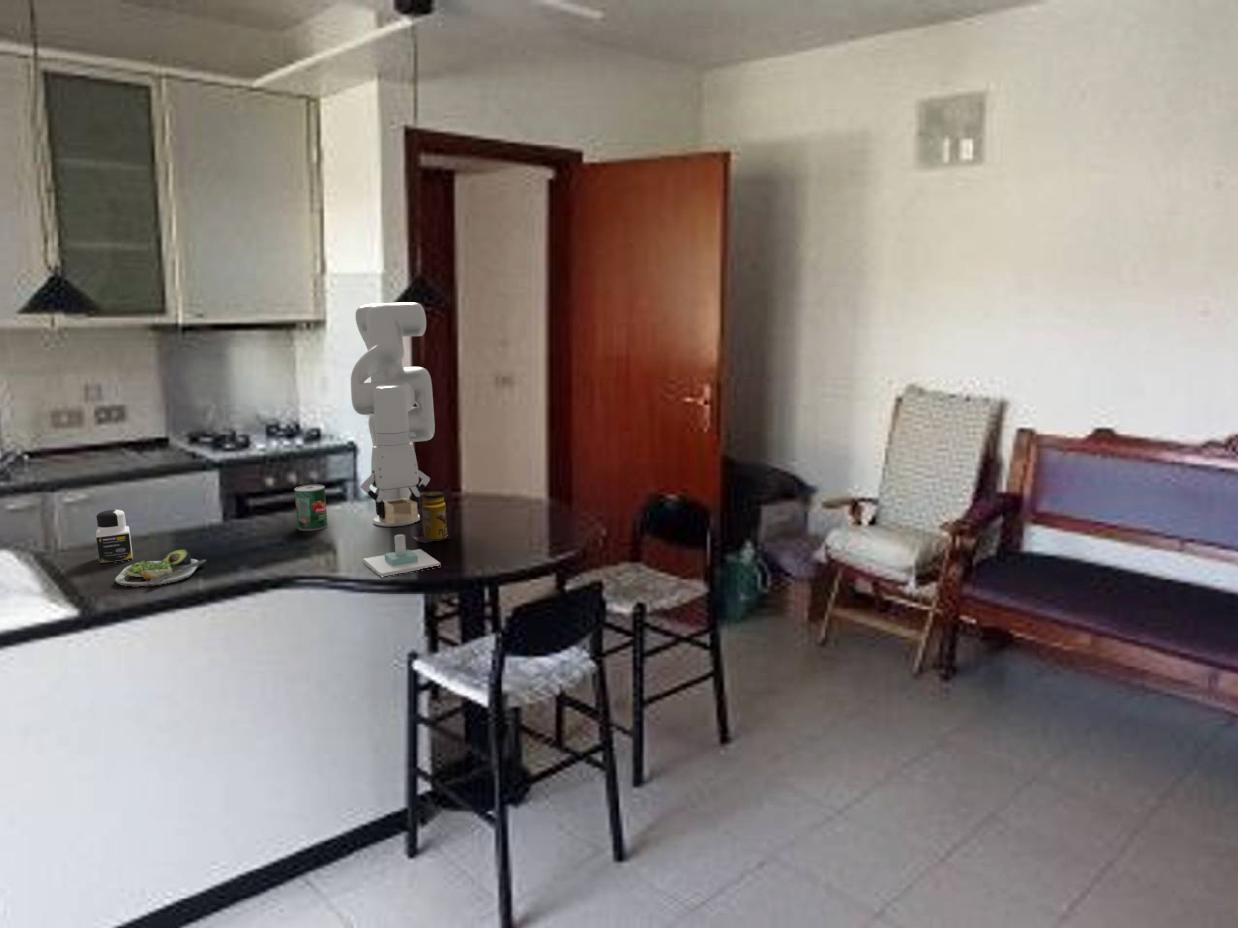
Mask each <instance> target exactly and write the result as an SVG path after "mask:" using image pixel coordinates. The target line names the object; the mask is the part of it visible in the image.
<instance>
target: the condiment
mask: <svg viewBox="0 0 1238 928" xmlns="http://www.w3.org/2000/svg"><path fill="white" fill-rule="evenodd" d="M444 500H445V496H444V493H443V492H442V491H438V490H436V491H427V492H424V493H423V495H422V502H423V503H422V505H421V512H422V513H421V514H422V517H421V518H422V529H423V531H422V533H423V535H424V538H425V539H431V540H434V539H442V538H446V537H447V536H448V526H447V525H448V523H447V506H446V504H447V503H446V502H445V501H444Z"/></svg>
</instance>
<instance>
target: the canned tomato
mask: <svg viewBox="0 0 1238 928" xmlns="http://www.w3.org/2000/svg"><path fill="white" fill-rule="evenodd" d="M325 487H326V486H325V485H322V484H306V485H305V484H304V485H301V486H297V487H295V488H294V489H293V490H294V501H295V509H296V511H295V512H296V522H297V529H298V530H299V531H304V532H305V531H308V532H309V531H310V532H311V531H319V530H323V529H325V528H328V526H329V524H328V515H327V513H328V511H327V504H326V503H327V501H326V490H325Z"/></svg>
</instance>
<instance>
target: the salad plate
mask: <svg viewBox="0 0 1238 928" xmlns="http://www.w3.org/2000/svg"><path fill="white" fill-rule="evenodd" d="M164 556H165V557H164V558H163V559H162V560H152V561H151V560H149V561H147V560H146V561H145V560H141V561H139V562H135V563H134V564H130V565H128V566H126V567H124V568H123V570H121V572H120V573H119V574H118V575H116V577H115V578H114V581H115V583H116V584H119V585H121V586H123V585H124V586H123V587H126V586H132V587H131V588H140V587H139V586H145V587H156V586H155V585H158V586H163V585H162V584H164V585H168V584H171V582H172V583H176V582H179V580H180V581H182V580H185V578H186V579H188V578H190V577H191V576H192V574H193V573H194V572H195V571H196V570H197V569H198V568H200V567H201V566H202V565H203V564H205V563H206V562H207V559H200V560H199V559H194V558H191V555H190V552H189V551H188V550H187V549H177V550H173V551H170V552H169V553H168V554H166V555H164ZM127 575H129V576H135V577H143V578H142V579H144V581H137V582H136V581H135V582H134V581H133V582H132V581H129V582H127V581H125V579H124V578H125V577H126V576H127ZM145 580H148V582H146V581H145ZM167 583H168V584H167Z"/></svg>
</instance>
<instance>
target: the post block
mask: <svg viewBox="0 0 1238 928" xmlns="http://www.w3.org/2000/svg"><path fill="white" fill-rule="evenodd" d="M406 546H407V545H406V535H405V534H396V535H394V549H395V551H393V552H387V553H384V554H383V555H376V556H371V557H364V558H362V560H363V564H364V565H366V566H367V567H368V568H369V569H370V568H371V569H372V572H374V571H375V572H376V573H377V574H378V575H380V576H387V575H392V574H398V573H404V572H409V571H414V570H420V569H423V568H428V567H433V566H439V565H440V566H441V562H440V561H438V560H437V559H435V558H434V557H432V556H431V555H430V554H428V553H427V552H426V551H424V550H422V549H421V548H417V549H412V550H410V549H407V547H406ZM371 569H370V570H371ZM375 572H374V573H375ZM376 573H375V574H376ZM377 574H376V575H377ZM378 575H377V576H378ZM380 576H379V577H380Z"/></svg>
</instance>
